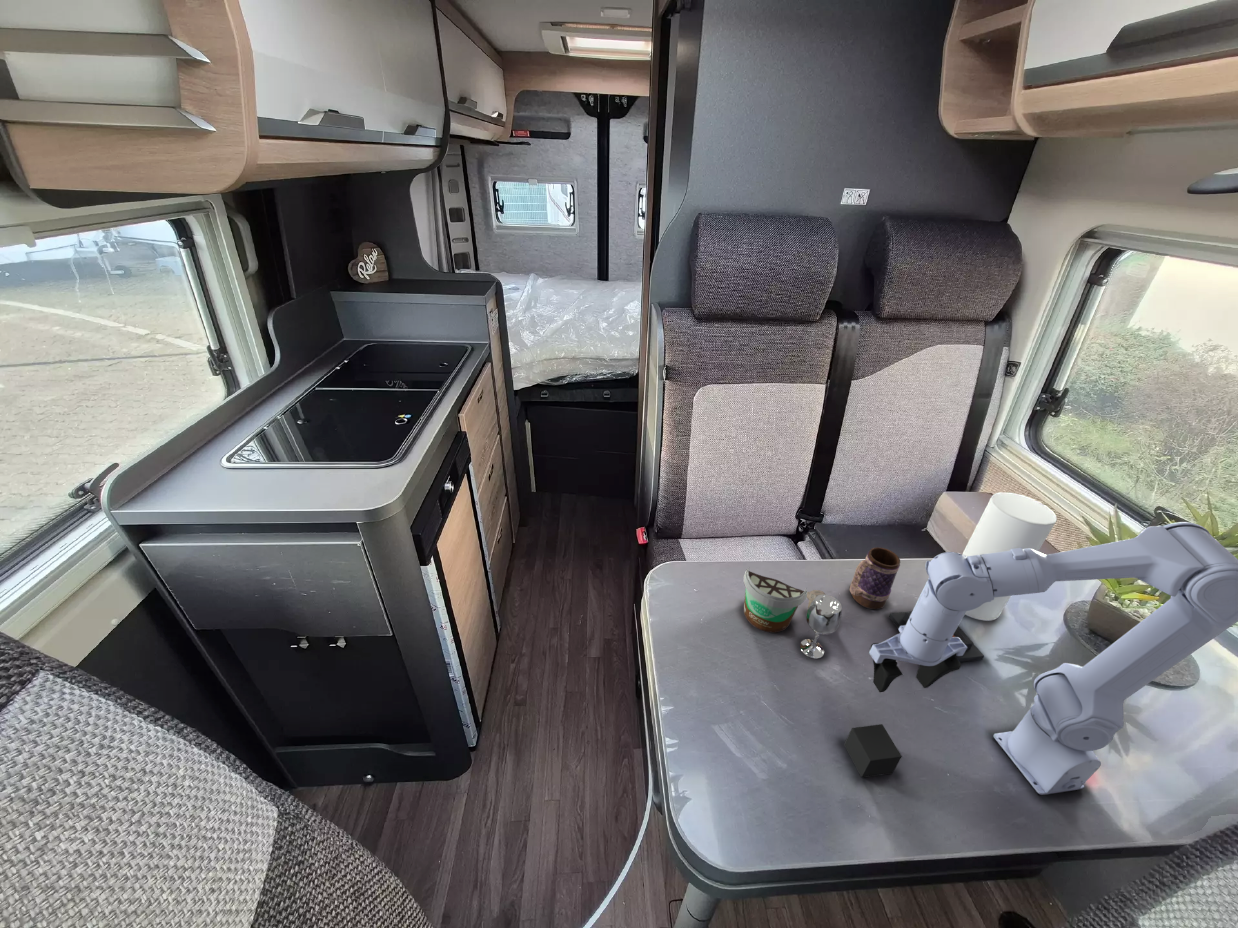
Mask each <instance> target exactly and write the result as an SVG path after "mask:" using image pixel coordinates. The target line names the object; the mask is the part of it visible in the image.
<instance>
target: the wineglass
mask: <svg viewBox="0 0 1238 928" xmlns="http://www.w3.org/2000/svg"><path fill="white" fill-rule="evenodd" d="M842 609H843V607H842V604H841V602H840V601H839V600H838V599H837V598H835V597H834V596H832V595H829V594H826V595H824V594H822V595H818V596H816V598H815V599H814V600H813V601H812V603H811V604H810V606H809V608H808V607H807V610H806V615H805V620H806V623H807V625H808V627H809V628H810V629H811V630H812V631H813V632H814V639H811V638H806V639H802V640H801V641H800V643H799V648H800V651H801V652H802V653H803V654H804V655H805V656H806V657H808V658H810V659H816V660H817V659H821V658H823V657H824V655H825V649H824V647H823V646H822V644H820V643H819V642H818V638H819V637H820V635H822V636H823V635H824V636H827V635H831V634H833V633H835V632H836V631H837V629H838V628H839V626H840V624H841V621H842V613H843V610H842Z"/></svg>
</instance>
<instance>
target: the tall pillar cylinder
mask: <svg viewBox="0 0 1238 928" xmlns="http://www.w3.org/2000/svg"><path fill="white" fill-rule="evenodd" d="M1057 522H1058V516H1057V515H1056V513H1055V512H1054V511H1053V510H1052V508H1050V507H1049V506H1048V505H1046V504H1044V503H1042V502H1041V501H1038V500H1037V499H1034V498H1031V497H1029V496H1026V495H1023V494H1019V493H1015V492H1007V491H1006V492H1004V491H1001V492H996V493H994V494H992V495H991V497H990V498H989V501H988V503H987V504H986V507H985V509H984V510H983V512H982V515H981V516H980V518H979V520H978V522H977V524H976V526H975V528H974V530H973V532H972V534H971V536H970V538H969V540H968V542H967V543H966V546H965V547H964V549H963V552H962V554H963V555H965V556H974V555H982V554H989V553H997V552H1004V551H1010V550H1011V549H1014V548H1022V549H1026V548H1031V549H1034V550H1036V551H1038V552H1040V549H1041V548H1042V546H1043V544H1044V542H1045V541H1046V540H1047V538H1048V536H1049V535H1050V533H1051V531H1052V530H1053V528H1054V526H1055V525H1056V523H1057ZM1011 598H1012V596H1004V597H994V600H991V602H986V603H984V604H982V605H981V606H979V607H978V608H976V609H973V610H970V611H966V613H965V615H964V616H967V617H969V618H972V619H976V620H979V621H987V622H988V621H994V620H996V619H998V618H999V617H1000V616H1001V614H1002V612H1003V611H1004V609H1005V607H1006V606H1007V605H1008V603H1009V601H1010V599H1011Z"/></svg>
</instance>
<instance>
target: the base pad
mask: <svg viewBox="0 0 1238 928" xmlns="http://www.w3.org/2000/svg"><path fill="white" fill-rule="evenodd" d="M912 611H913V610H912ZM912 611H901V612H890V613H889V615H888V617H889V619H890V620H891V621H892V623H893V624H894V626H895V627H896V628H897V629H898V630H899V627H900V626H903V625H906V624H907V622H908V619H909V617H910V615H911V613H912ZM952 637H959V638H960V639H961V640H962V642H963V643H964V644H965V645H966V646H967V649H966V651H965V653H964V654H963V656H955V657H956V658H957V659H958V661H959V662H960V663H962V662H971V661H979V660H983V659H984V657H985V655H984V654H983V653H982V652H981V650H980V649H979V648H978V647H977V646H976V645H975V643H974V641H972V639H971V638H970V637H969V636H968V635H967V633H965V631H964V630H963V629H962V628H961V627H960V626H959V625H958V627H957V629H956V631H955V632H954V634H953V636H952Z"/></svg>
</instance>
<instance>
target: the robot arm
mask: <svg viewBox="0 0 1238 928" xmlns="http://www.w3.org/2000/svg"><path fill="white" fill-rule="evenodd" d="M925 571H926V574H927V576H928V578H927V581H926V582H925V584H924V587H923V589H922V590H921V593H920V595H919V596H918V599H917V600H916V603H915V604H914V606H913V609H912V613H911V615H910V617H909V619H908V622H907V624H906V625H903V626H900V627H899V629H898V632H899V633H897V634H895V635H893V636H892V637H890V638H887V639H886V640H884V641H882V642H881V641H880V642H873V643H872V644H871V645H870V647H869V652H868V654H869V655H870V657H871V658H872V663H873V679H872V683H873V685H874V686H875V688H876V689H877V691H878V692H879V693H885V692H886V691H887V690H888V689H889V687H890V686H891V684H892V683H893V682H894V680H896V679H897V678H899V677H901V676H904V674H903V672H902V670H901V669H900V668H899V667H898V666H899V665H898V661H900V662H905V663H909V664H914V665H919V666H918V668H917V672H916V676H915V678H916V679H917V681H918V682H919V683H920V686H922V688H923V689H928V688H929V687H931V686H932V685H933V684H935V683H936V682H938V681H939V680H940V679H941V678H943V677H944V676H946V675H948V674H950V673H953V672H956V671H959V670H960V669H961V667H962V662H959V661H958V659H957V658H956V657H955V656H963V654H964V653H965V651H966V649H967V646H966V645H965V644H964V643H963V642H962V640H961V639H960V638H959V637H952V636H953V634H954V632H955V631H956V629H957V627H958V626H959V625H960V623H961V622H962V620H963V618H964V616H966V615H965V613H966V611H970V610H973V609H976V608H978V607H979V606H981V605H982V604H984V603H986V602H991V600H994V597H1004V596H1011V597H1013V596H1021V595H1022V596H1023V595H1031V594H1032V595H1033V594H1040V593H1045V592H1047V591H1048V590H1049V589H1050V588H1051V587H1052V585H1053V584H1054V583H1056V582H1075V581H1093V580H1094V581H1095V580H1111V579H1112V580H1113V579H1114V580H1115V579H1137V580H1139V581H1142V582H1143V583H1145V584H1147V585H1149V586H1151V587H1153V588H1155V589H1156V590H1159V591H1161V592H1163V593H1165V594H1167V595H1168V596H1170V598H1169V599H1168V600H1167V601H1166V602H1164V603H1163V604H1162V605H1160V606H1159V607H1158V608H1157V609H1155V610H1154V611H1152V612H1151V613H1150V614H1149V615H1148V616H1146V617H1145V618H1144V619H1142V620H1141V621H1140V622H1139V623H1137V624H1136V625H1135V626H1133V627H1132V628H1131V629H1130V630H1128V631H1126V633H1124V634H1122V636H1120V637H1119V638H1118V639H1117V640H1116V641H1114V642H1113V643H1111V644H1110V645H1109V646H1108V647H1106V648H1105V649H1104V650H1103V651H1101V652H1100V653H1098V654H1097V655H1096V656H1095V657H1093V658H1092V659H1091V660H1090V661H1088V662H1087V663H1085V664H1084V665H1083V666H1082V665H1079V664H1074V663H1070V662H1069V663H1068V662H1063V663H1062V664H1061V665H1059V666H1057V667H1056V668H1054V669H1052V670H1048V671H1045V672H1043V673H1041V674H1039V675H1038V676H1036V678H1035V679H1034V681H1033V688H1034V690H1035V692H1036V695H1035V696H1034V697H1033V704H1032V705H1031V707H1030V708H1029V709H1028V711H1027V712H1026V713H1025V715H1024V716H1023V717H1022V719H1021V720H1020V722H1019V723H1018V724H1017V725H1016V727H1015V728H1014V729H1013V730H1012V731H1011V730H1010V731H1004V732H997V733H994V734H993V738H994V739H995V741H996V742H997V743H998V745H999V746H1000V747H1001V749H1003V751H1004V752H1005V754H1007V756H1008V757H1009V758H1010V760H1011V761H1012V762H1013V764H1014V765H1015V766H1016V768H1018V770H1019V771H1020V772H1021V774H1022V775H1023V776H1024V778H1025V779H1026V780H1027V781H1028V783H1029V784H1030V785H1031V786H1032V788H1033V789H1034V791H1035V792H1036V793H1037V794H1039V795H1041V796H1046V795H1052V794H1058V793H1064V792H1071V791H1076V790H1077V791H1078V790H1082V789H1084V788H1085V783H1086V782H1088V780H1089V779H1090V778H1091V777H1092V776H1093V775H1094V774H1095V773H1096V772H1097V771H1098V770H1099V768H1101V764H1102V761H1101V760H1100V759H1099V757H1098V756H1097V755H1096V753H1095V751H1097V750H1101V749H1103V748H1105V747H1107V746H1108V745H1109V744H1110V743H1112V741H1113V738H1114V736H1115V734H1116V733H1117V732H1119V731H1120V730H1121V729H1123V728H1124V725H1125V724H1124V722H1125V718H1124V702H1125V701H1126V700H1127V699H1128V698H1129V697H1131V696H1133V695H1134V694H1135V693H1137V692H1138V691H1140V690H1141V689H1142V688H1144V687H1145V686H1147V685H1148V684H1150V683H1151V682H1153V681H1154V680H1156V679H1157V678H1158V677H1160V676H1162V675H1163V674H1164V673H1166V672H1167V671H1169V670H1170V669H1171V668H1173V667H1175V666H1176V665H1177V664H1179V663H1181V662H1182V661H1183V660H1185V659H1186V658H1188V657H1189V656H1190V655H1192V654H1193V653H1195V652H1196V651H1198V650H1199V649H1201V648H1202V647H1203V646H1205V645H1206V644H1208V643H1209V642H1211V641H1212V640H1214V639H1215V638H1216V637H1218V636H1219V635H1221V634H1222V633H1224V632H1225V631H1226V630H1228V629H1230V628H1231V627H1233V626H1234V625H1236V624H1237V623H1238V557H1236V556H1235V555H1234V554H1233V553H1231V551H1229V549H1227V548H1226V547H1225V546H1224V545H1223V544H1221V543H1220V542H1219V541H1218V540H1217V539H1216V538H1215V537H1214V536H1212V534H1211V533H1210V532H1209V530H1208V529H1207V528H1205V527H1204V526H1203V525H1200V524H1198V523H1195V522H1189V521H1178V522H1177V521H1176V522H1171V523H1167V524H1165V525H1152V526H1147V527H1146V528H1145V529H1143V530H1142V531H1141V532H1140V533H1139V534H1138V535H1137V536H1135V537H1131V538H1128V539H1123V540H1122V539H1121V540H1117V541H1111V542H1107V543H1102V544H1096V545H1091V546H1085V547H1081V548H1075V549H1070V550H1064V551H1060V552H1059V551H1058V552H1055V553H1049V554H1044V553H1042V552H1040V551H1036V550H1034V549H1031V548H1026V549H1022V548H1014V549H1011V550H1010V551H1004V552H997V553H989V554H982V555H974V556H965V555H963V553H959V552H955V551H945V552H942V553H939V554H937V555H936V556H934V557H933V558H932V559H931V560H926V561H925Z"/></svg>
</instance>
